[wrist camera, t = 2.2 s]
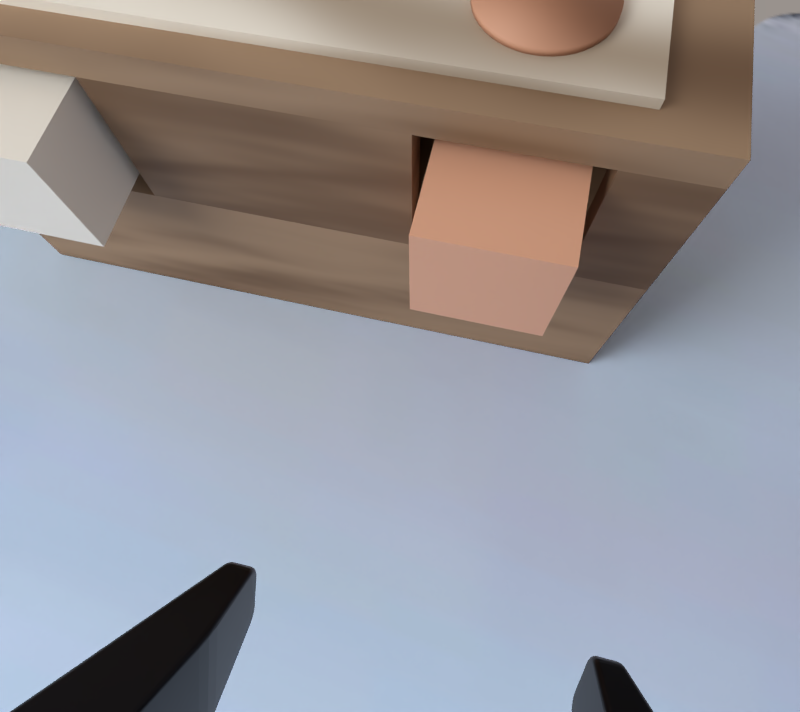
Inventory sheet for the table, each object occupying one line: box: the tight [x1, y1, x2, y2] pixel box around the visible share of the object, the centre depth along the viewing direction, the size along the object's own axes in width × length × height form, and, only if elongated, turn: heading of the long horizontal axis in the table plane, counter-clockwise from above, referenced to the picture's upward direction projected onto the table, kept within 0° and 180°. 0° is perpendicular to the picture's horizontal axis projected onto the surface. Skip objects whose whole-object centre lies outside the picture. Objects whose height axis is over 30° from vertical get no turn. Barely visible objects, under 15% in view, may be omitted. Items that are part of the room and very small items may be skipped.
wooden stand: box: [0, 0, 755, 363], centre depth 21 cm, size 7×24×13 cm, turn 77°
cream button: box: [0, 64, 139, 247], centre depth 18 cm, size 4×4×4 cm
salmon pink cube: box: [409, 139, 593, 336], centre depth 16 cm, size 4×4×4 cm
